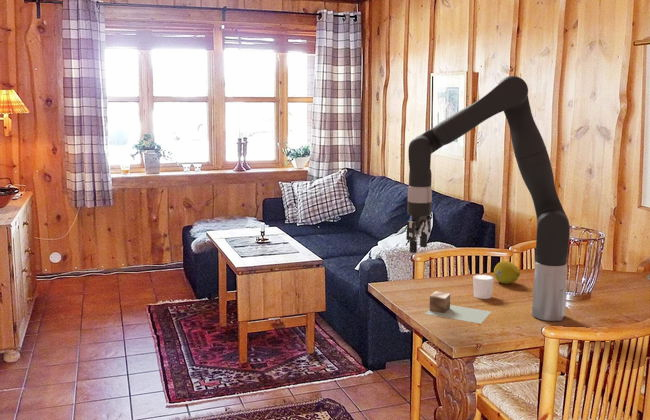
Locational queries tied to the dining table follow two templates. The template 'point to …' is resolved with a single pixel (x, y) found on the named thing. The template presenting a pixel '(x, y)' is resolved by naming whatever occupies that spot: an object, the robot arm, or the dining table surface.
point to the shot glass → (483, 286)
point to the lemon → (506, 272)
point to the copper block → (439, 302)
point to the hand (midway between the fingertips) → (418, 249)
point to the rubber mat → (462, 314)
